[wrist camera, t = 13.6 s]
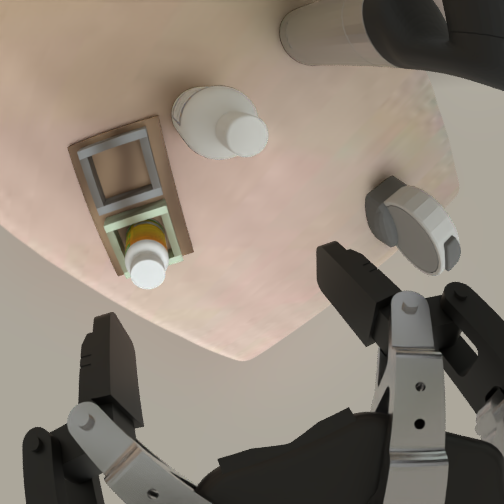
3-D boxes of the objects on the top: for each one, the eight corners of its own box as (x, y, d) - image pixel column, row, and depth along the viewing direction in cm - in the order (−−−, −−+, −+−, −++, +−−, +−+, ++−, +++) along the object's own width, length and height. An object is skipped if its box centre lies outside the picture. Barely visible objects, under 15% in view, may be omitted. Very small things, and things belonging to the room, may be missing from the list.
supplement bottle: (124, 219, 37) (120, 257, 29) (163, 214, 38) (169, 251, 31) (129, 253, 40) (128, 297, 32) (165, 249, 41) (173, 291, 33)
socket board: (158, 115, 33) (159, 117, 30) (192, 248, 44) (196, 261, 41) (69, 145, 30) (62, 151, 27) (118, 271, 42) (117, 286, 39)
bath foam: (231, 127, 37) (305, 165, 21) (181, 147, 36) (215, 202, 20) (215, 79, 33) (282, 73, 17) (163, 98, 32) (179, 106, 16)
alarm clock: (410, 223, 58) (471, 267, 44) (377, 250, 59) (436, 303, 44) (395, 162, 49) (473, 203, 34) (356, 192, 49) (432, 244, 34)
